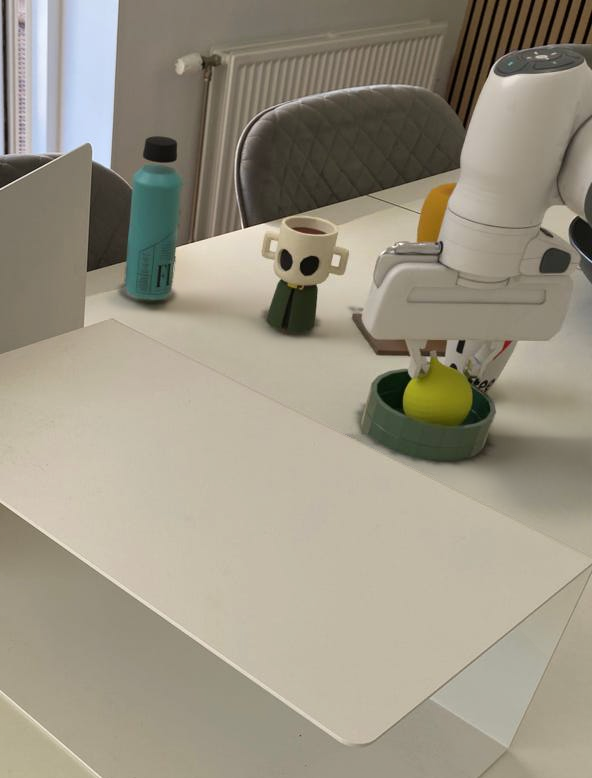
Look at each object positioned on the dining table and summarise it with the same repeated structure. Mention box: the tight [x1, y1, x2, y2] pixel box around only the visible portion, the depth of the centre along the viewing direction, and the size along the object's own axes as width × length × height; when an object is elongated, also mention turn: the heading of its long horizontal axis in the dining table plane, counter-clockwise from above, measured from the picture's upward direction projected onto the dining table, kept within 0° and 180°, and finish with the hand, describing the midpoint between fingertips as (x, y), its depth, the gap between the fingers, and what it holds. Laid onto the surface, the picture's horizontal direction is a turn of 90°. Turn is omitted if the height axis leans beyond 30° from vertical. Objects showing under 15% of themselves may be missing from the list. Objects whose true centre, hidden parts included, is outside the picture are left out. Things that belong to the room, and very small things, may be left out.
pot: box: [360, 368, 497, 462], centre depth 108 cm, size 13×13×5 cm
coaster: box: [351, 313, 447, 357], centre depth 130 cm, size 11×11×1 cm
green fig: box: [403, 347, 472, 426], centre depth 105 cm, size 7×7×10 cm
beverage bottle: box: [123, 135, 184, 301], centre depth 126 cm, size 6×7×20 cm
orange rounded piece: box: [416, 182, 457, 243], centre depth 143 cm, size 11×11×13 cm
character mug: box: [261, 215, 350, 334], centre depth 125 cm, size 11×7×13 cm, turn 65°
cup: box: [443, 340, 519, 394], centre depth 117 cm, size 8×8×10 cm
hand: (444, 376), depth 105 cm, fingers closed on green fig, 5 cm apart
